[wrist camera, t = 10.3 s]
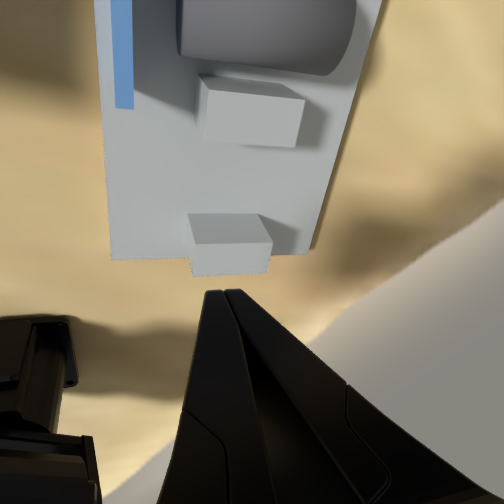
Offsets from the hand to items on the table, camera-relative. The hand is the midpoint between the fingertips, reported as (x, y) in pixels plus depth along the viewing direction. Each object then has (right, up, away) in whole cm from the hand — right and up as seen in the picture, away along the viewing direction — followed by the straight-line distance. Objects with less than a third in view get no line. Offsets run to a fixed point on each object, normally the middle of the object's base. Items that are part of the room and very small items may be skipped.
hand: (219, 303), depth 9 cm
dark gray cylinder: (+1, +11, +7) cm, 13 cm away
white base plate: (0, +9, +9) cm, 13 cm away
